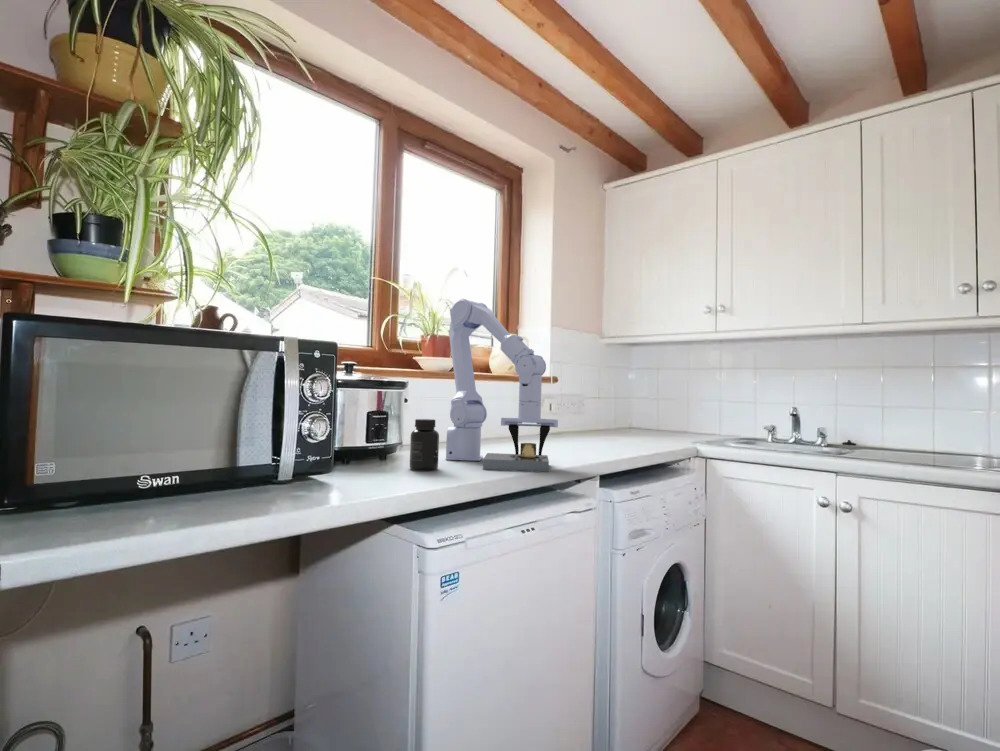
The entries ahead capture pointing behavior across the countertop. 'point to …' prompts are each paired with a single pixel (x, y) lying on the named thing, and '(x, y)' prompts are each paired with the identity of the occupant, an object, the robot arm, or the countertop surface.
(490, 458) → the jig
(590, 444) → the countertop surface
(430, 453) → the supplement bottle
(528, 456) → the bushing
